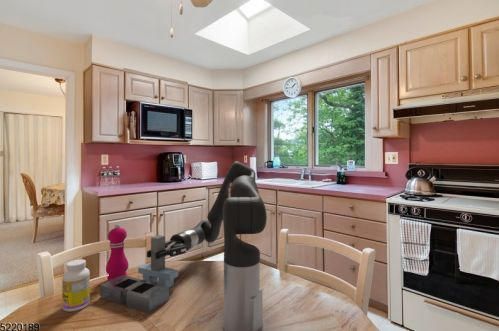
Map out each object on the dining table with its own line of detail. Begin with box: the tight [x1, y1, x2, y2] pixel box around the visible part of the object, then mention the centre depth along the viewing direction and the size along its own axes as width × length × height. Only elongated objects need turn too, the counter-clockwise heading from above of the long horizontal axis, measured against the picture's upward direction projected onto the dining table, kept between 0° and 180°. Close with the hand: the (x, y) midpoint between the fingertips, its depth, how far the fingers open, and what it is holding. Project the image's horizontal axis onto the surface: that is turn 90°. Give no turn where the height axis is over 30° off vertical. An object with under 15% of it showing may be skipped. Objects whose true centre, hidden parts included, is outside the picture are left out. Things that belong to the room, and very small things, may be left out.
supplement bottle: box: [61, 259, 91, 312], centre depth 75 cm, size 7×7×13 cm
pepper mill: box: [105, 223, 129, 282], centre depth 92 cm, size 7×7×20 cm
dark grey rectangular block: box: [99, 275, 170, 314], centre depth 80 cm, size 20×8×4 cm, turn 66°
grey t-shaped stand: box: [137, 234, 179, 289], centre depth 89 cm, size 14×4×16 cm, turn 66°
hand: (151, 255), depth 86 cm, fingers open, 3 cm apart
